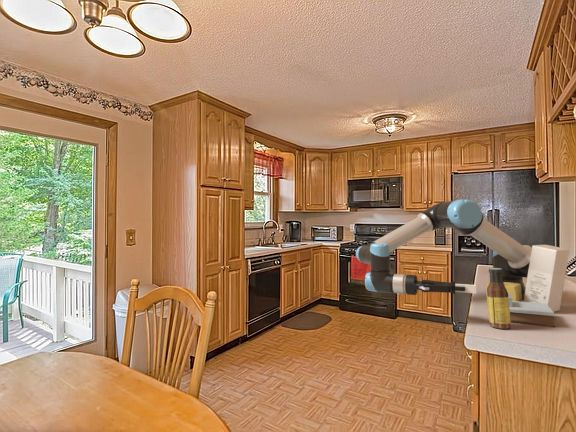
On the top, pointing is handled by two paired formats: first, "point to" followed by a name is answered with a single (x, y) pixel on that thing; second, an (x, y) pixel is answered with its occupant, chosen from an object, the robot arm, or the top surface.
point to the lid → (529, 307)
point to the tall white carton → (546, 275)
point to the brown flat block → (532, 319)
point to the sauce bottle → (498, 300)
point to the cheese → (512, 291)
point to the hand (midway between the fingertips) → (475, 289)
